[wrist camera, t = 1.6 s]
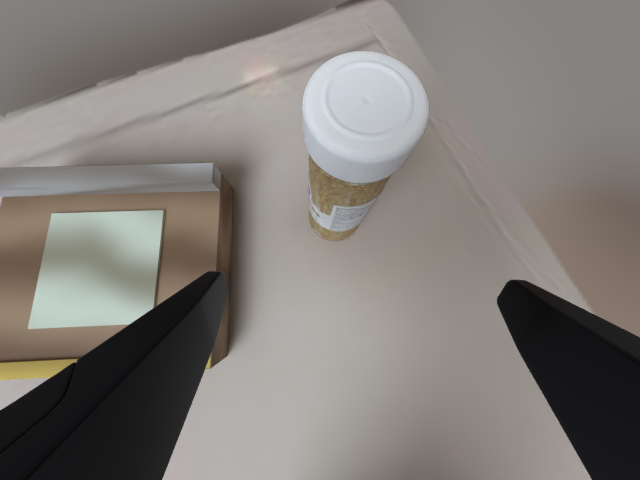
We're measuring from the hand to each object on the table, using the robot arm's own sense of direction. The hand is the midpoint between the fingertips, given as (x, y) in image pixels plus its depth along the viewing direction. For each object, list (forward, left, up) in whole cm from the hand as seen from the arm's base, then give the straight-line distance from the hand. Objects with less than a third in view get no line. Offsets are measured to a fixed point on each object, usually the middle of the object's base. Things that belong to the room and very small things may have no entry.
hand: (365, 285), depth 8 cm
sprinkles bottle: (+6, 0, -13) cm, 14 cm away
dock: (+2, +17, -13) cm, 21 cm away
